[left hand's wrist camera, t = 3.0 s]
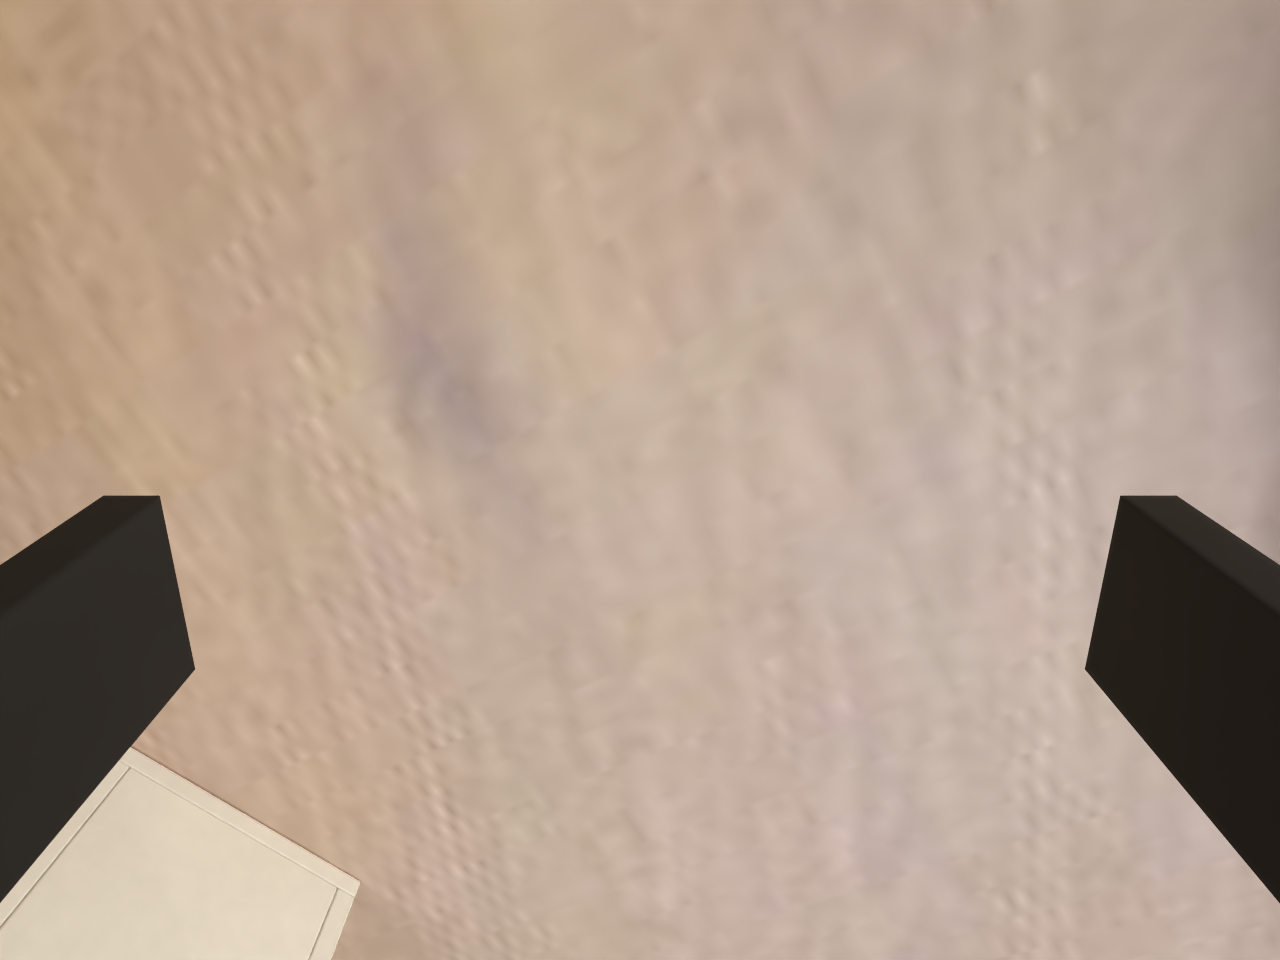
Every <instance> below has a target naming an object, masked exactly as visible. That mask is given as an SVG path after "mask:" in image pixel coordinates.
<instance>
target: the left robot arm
mask: <svg viewBox="0 0 1280 960" xmlns="http://www.w3.org/2000/svg"><path fill="white" fill-rule="evenodd" d="M194 670H195V666H194V662H193V657H192V652H191V647H190V642H189V637H188V632H187V627H186V622H185V618H184V613H183V608H182V603H181V598H180V593H179V588H178V583H177V578H176V574H175V569H174V564H173V559H172V554H171V549H170V544H169V539H168V534H167V530H166V525H165V520H164V515H163V510H162V505H161V500H160V496H102V497H101V498H99V499H98V500H96V501H95V502H93V503H92V504H90V505H89V506H88V507H86V508H85V509H83V510H82V511H80V512H79V513H77V514H76V515H74V516H73V517H71V518H70V519H68V520H67V521H65V522H64V523H62V524H61V525H59V526H58V527H56V528H55V529H53V530H52V531H50V532H49V533H47V534H46V535H44V536H43V537H41V538H40V539H38V540H37V541H35V542H34V543H33V544H31V545H30V546H28V547H27V548H25V549H24V550H22V551H21V552H19V553H18V554H16V555H15V556H13V557H12V558H10V559H9V560H7V561H6V562H4V563H3V564H1V565H0V903H1V902H2V900H3V899H4V898H5V897H6V896H7V894H8V893H9V892H10V891H11V890H12V888H13V887H14V886H15V885H16V884H17V882H18V881H19V880H20V879H21V878H22V876H23V875H24V874H25V873H26V872H27V870H28V869H29V868H30V867H31V866H32V864H33V863H34V862H35V861H36V860H37V858H38V857H39V856H40V855H41V854H42V852H43V851H44V850H45V849H46V848H47V846H48V845H49V844H50V843H51V842H52V840H53V839H54V838H55V837H56V836H57V834H58V833H59V832H60V831H61V830H62V828H63V827H64V826H65V825H66V824H67V822H68V821H69V820H70V819H71V818H72V816H73V815H74V814H75V813H76V812H77V810H78V809H79V808H80V807H81V806H82V804H83V803H84V802H85V801H86V800H87V798H88V797H89V796H90V795H91V794H92V792H93V791H94V790H95V789H96V788H97V786H98V785H99V784H100V783H101V782H102V780H103V779H104V778H105V777H106V776H107V774H108V773H109V772H110V771H111V770H112V768H113V767H114V766H115V765H116V764H117V762H118V761H119V760H120V759H121V758H122V756H123V755H124V754H125V753H126V752H127V750H128V749H129V748H130V747H131V746H132V744H133V743H134V742H135V741H136V740H137V738H138V737H139V736H140V735H141V734H142V732H143V731H144V730H145V729H146V728H147V726H148V725H149V724H150V723H151V722H152V720H153V719H154V718H155V717H156V715H157V714H158V713H159V712H160V711H161V709H162V708H163V707H164V706H165V705H166V703H167V702H168V701H169V700H170V699H171V697H172V696H173V695H174V694H175V693H176V691H177V690H178V689H179V688H180V687H181V685H182V684H183V683H184V682H185V681H186V679H187V678H188V677H189V676H190V675H191V673H192V672H193V671H194ZM1085 670H1086V671H1087V672H1088V673H1089V675H1090V676H1091V677H1092V678H1093V679H1094V681H1095V682H1096V683H1097V684H1098V685H1099V687H1100V688H1101V689H1102V690H1103V691H1104V693H1105V694H1106V695H1107V696H1108V697H1109V699H1110V700H1111V701H1112V702H1113V703H1114V705H1115V706H1116V707H1117V708H1118V709H1119V711H1120V712H1121V713H1122V714H1123V715H1124V717H1125V718H1126V719H1127V720H1128V722H1129V723H1130V724H1131V725H1132V726H1133V728H1134V729H1135V730H1136V731H1137V732H1138V734H1139V735H1140V736H1141V737H1142V738H1143V740H1144V741H1145V742H1146V743H1147V744H1148V746H1149V747H1150V748H1151V749H1152V750H1153V752H1154V753H1155V754H1156V755H1157V756H1158V758H1159V759H1160V760H1161V761H1162V762H1163V764H1164V765H1165V766H1166V767H1167V768H1168V770H1169V771H1170V772H1171V773H1172V774H1173V776H1174V777H1175V778H1176V779H1177V780H1178V782H1179V783H1180V784H1181V785H1182V786H1183V788H1184V789H1185V790H1186V791H1187V792H1188V794H1189V795H1190V796H1191V797H1192V798H1193V800H1194V801H1195V802H1196V803H1197V804H1198V806H1199V807H1200V808H1201V809H1202V810H1203V812H1204V813H1205V814H1206V815H1207V816H1208V818H1209V819H1210V820H1211V821H1212V822H1213V824H1214V825H1215V826H1216V827H1217V828H1218V830H1219V831H1220V832H1221V833H1222V834H1223V836H1224V837H1225V838H1226V839H1227V840H1228V842H1229V843H1230V844H1231V845H1232V846H1233V848H1234V849H1235V850H1236V851H1237V852H1238V854H1239V855H1240V856H1241V857H1242V858H1243V860H1244V861H1245V862H1246V863H1247V864H1248V866H1249V867H1250V868H1251V869H1252V870H1253V872H1254V873H1255V874H1256V875H1257V876H1258V878H1259V879H1260V880H1261V881H1262V882H1263V884H1264V885H1265V886H1266V887H1267V888H1268V890H1269V891H1270V892H1271V893H1272V894H1273V896H1274V897H1275V898H1276V899H1277V900H1278V902H1279V903H1280V565H1279V564H1277V563H1276V562H1274V561H1273V560H1271V559H1270V558H1268V557H1267V556H1265V555H1264V554H1262V553H1261V552H1259V551H1258V550H1256V549H1255V548H1253V547H1252V546H1250V545H1249V544H1247V543H1246V542H1245V541H1243V540H1242V539H1240V538H1239V537H1237V536H1236V535H1234V534H1233V533H1231V532H1230V531H1228V530H1227V529H1225V528H1224V527H1222V526H1221V525H1219V524H1218V523H1216V522H1215V521H1213V520H1212V519H1210V518H1209V517H1207V516H1206V515H1204V514H1203V513H1201V512H1200V511H1198V510H1197V509H1195V508H1194V507H1192V506H1191V505H1190V504H1188V503H1187V502H1185V501H1184V500H1182V499H1181V498H1179V497H1178V496H1120V500H1119V505H1118V510H1117V515H1116V520H1115V525H1114V530H1113V534H1112V539H1111V544H1110V549H1109V554H1108V559H1107V564H1106V569H1105V574H1104V578H1103V583H1102V588H1101V593H1100V598H1099V603H1098V608H1097V613H1096V618H1095V622H1094V627H1093V632H1092V637H1091V642H1090V647H1089V652H1088V657H1087V662H1086V666H1085Z"/></svg>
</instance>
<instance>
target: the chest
mask: <svg viewBox="0 0 1280 960" xmlns="http://www.w3.org/2000/svg"><path fill="white" fill-rule="evenodd" d="M359 885H360V881H358V880H357V879H355V878H353V877H352V876H350V875H348V874H346V873H345V872H343V871H341V870H340V869H338V868H336V867H334V866H333V865H331V864H329V863H328V862H326V861H324V860H323V859H321V858H319V857H317V856H316V855H314V854H312V853H311V852H309V851H307V850H305V849H304V848H302V847H300V846H299V845H297V844H295V843H293V842H292V841H290V840H288V839H287V838H285V837H283V836H282V835H280V834H278V833H276V832H275V831H273V830H271V829H270V828H268V827H266V826H264V825H263V824H261V823H259V822H258V821H256V820H254V819H253V818H251V817H249V816H247V815H246V814H244V813H242V812H241V811H239V810H237V809H235V808H234V807H232V806H230V805H229V804H227V803H225V802H223V801H222V800H220V799H218V798H217V797H215V796H213V795H212V794H210V793H208V792H206V791H205V790H203V789H201V788H200V787H198V786H196V785H194V784H193V783H191V782H189V781H188V780H186V779H184V778H183V777H181V776H179V775H177V774H176V773H174V772H172V771H171V770H169V769H167V768H165V767H164V766H162V765H160V764H159V763H157V762H155V761H154V760H152V759H150V758H148V757H147V756H145V755H143V754H142V753H140V752H138V751H136V750H135V749H133V748H131V747H130V748H129V749H128V750H127V752H126V753H125V754H124V755H123V756H122V758H121V759H120V760H119V761H118V762H117V764H116V765H115V766H114V767H113V768H112V770H111V771H110V772H109V773H108V774H107V776H106V777H105V778H104V779H103V780H102V782H101V783H100V784H99V785H98V786H97V788H96V789H95V790H94V791H93V792H92V794H91V795H90V796H89V797H88V798H87V800H86V801H85V802H84V803H83V804H82V806H81V807H80V808H79V809H78V810H77V812H76V813H75V814H74V815H73V816H72V818H71V819H70V820H69V821H68V822H67V824H66V825H65V826H64V827H63V828H62V830H61V831H60V832H59V833H58V834H57V836H56V837H55V838H54V839H53V840H52V842H51V843H50V844H49V845H48V846H47V848H46V849H45V850H44V851H43V852H42V854H41V855H40V856H39V857H38V858H37V860H36V861H35V862H34V863H33V864H32V866H31V867H30V868H29V869H28V870H27V872H26V873H25V874H24V875H23V876H22V878H21V879H20V880H19V881H18V882H17V884H16V885H15V886H14V887H13V888H12V890H11V891H10V892H9V893H8V894H7V896H6V897H5V898H4V899H3V900H2V902H1V903H0V960H331V959H332V956H333V953H334V951H335V948H336V945H337V943H338V940H339V937H340V935H341V932H342V929H343V927H344V924H345V921H346V919H347V916H348V913H349V911H350V908H351V905H352V903H353V900H354V897H355V895H356V893H357V890H358V887H359Z"/></svg>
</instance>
